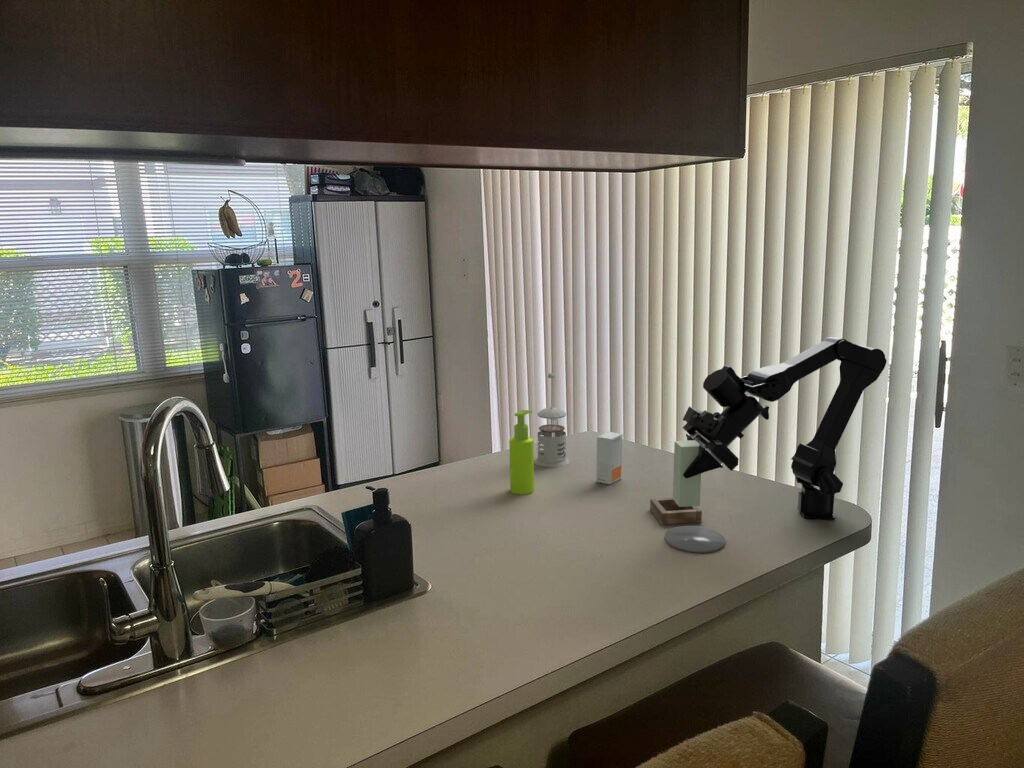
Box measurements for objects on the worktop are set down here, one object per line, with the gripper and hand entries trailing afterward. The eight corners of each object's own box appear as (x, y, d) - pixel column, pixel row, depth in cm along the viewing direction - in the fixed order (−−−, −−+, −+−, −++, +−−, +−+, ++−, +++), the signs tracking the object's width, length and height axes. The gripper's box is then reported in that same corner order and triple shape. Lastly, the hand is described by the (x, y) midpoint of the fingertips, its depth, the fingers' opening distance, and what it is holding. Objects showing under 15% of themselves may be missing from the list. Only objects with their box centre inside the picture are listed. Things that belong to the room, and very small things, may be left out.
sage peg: (692, 498, 156) (694, 440, 153) (699, 505, 151) (702, 446, 149) (672, 499, 155) (674, 441, 153) (679, 506, 151) (681, 447, 148)
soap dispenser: (540, 487, 181) (539, 410, 177) (526, 496, 176) (524, 416, 171) (520, 483, 184) (519, 407, 180) (505, 492, 179) (504, 413, 174)
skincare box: (610, 485, 182) (611, 439, 179) (595, 482, 184) (596, 436, 182) (622, 478, 187) (622, 433, 184) (607, 475, 189) (608, 431, 187)
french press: (532, 466, 198) (530, 376, 192) (537, 453, 209) (536, 368, 204) (568, 467, 196) (567, 377, 191) (571, 454, 207) (571, 368, 202)
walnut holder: (687, 506, 167) (687, 496, 166) (701, 521, 158) (701, 511, 158) (650, 509, 166) (650, 498, 165) (662, 524, 157) (662, 513, 157)
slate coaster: (720, 529, 154) (720, 527, 154) (728, 554, 142) (728, 551, 142) (663, 527, 156) (663, 524, 156) (666, 551, 144) (666, 548, 144)
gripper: (693, 385, 158) (642, 436, 159) (725, 404, 140) (668, 462, 141) (726, 418, 160) (676, 468, 162) (762, 442, 142) (706, 498, 143)
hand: (680, 473), depth 152 cm, fingers closed on sage peg, 4 cm apart
